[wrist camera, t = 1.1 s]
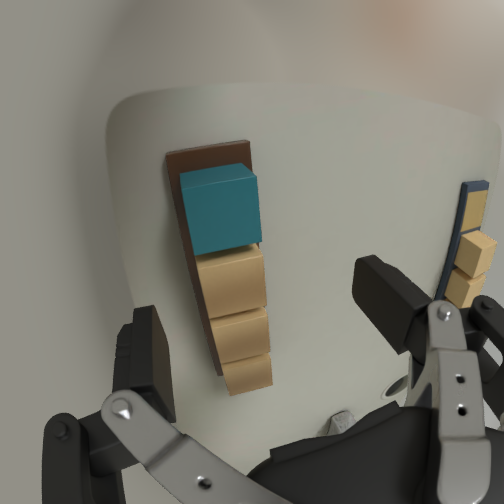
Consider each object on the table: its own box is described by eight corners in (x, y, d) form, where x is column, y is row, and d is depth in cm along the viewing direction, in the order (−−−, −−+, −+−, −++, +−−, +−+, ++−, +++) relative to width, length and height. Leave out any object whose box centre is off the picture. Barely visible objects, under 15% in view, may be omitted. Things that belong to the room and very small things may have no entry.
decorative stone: (324, 416, 46) (358, 482, 34) (354, 404, 47) (389, 466, 34) (322, 437, 52) (349, 493, 39) (347, 426, 53) (376, 480, 40)
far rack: (462, 182, 29) (492, 197, 24) (484, 180, 30) (511, 193, 25) (424, 326, 41) (442, 345, 36) (447, 314, 42) (464, 332, 38)
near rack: (165, 152, 20) (163, 166, 16) (246, 139, 21) (267, 149, 17) (216, 370, 32) (224, 405, 28) (266, 357, 33) (280, 390, 29)
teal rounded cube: (179, 173, 20) (181, 189, 16) (241, 162, 21) (256, 175, 17) (189, 230, 22) (194, 256, 19) (247, 219, 23) (262, 242, 19)
